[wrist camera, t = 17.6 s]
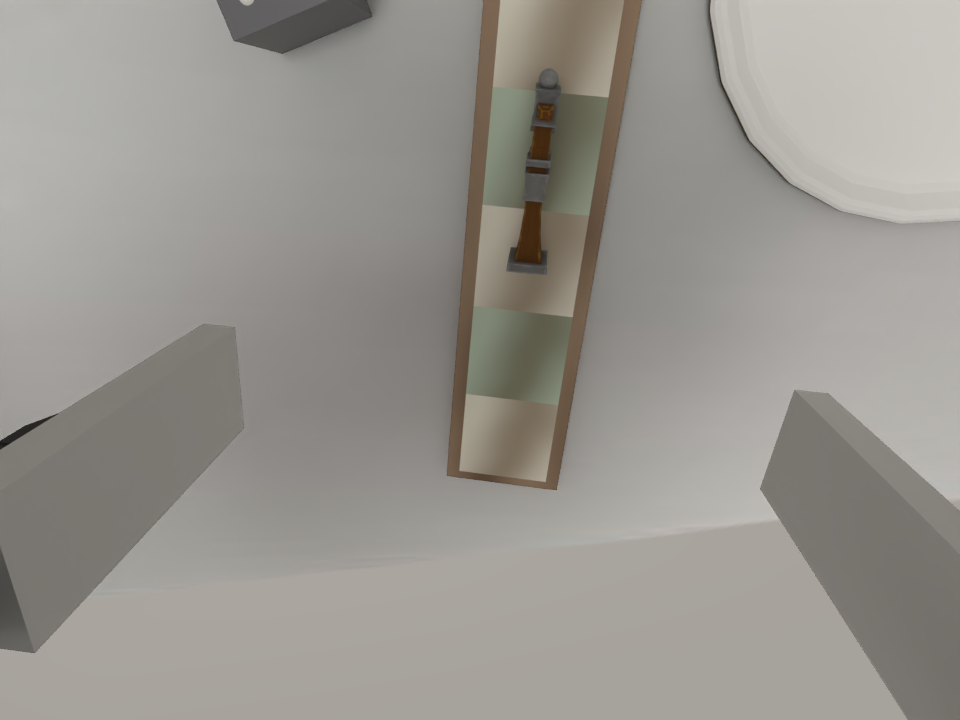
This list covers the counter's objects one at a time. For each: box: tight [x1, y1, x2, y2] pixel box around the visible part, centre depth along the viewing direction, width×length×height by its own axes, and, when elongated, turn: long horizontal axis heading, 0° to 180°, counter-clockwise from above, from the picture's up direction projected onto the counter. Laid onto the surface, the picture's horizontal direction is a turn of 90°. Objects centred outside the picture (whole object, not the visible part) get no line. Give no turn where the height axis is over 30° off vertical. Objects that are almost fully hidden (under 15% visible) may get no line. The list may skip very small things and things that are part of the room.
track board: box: [447, 0, 642, 490], centre depth 27 cm, size 6×26×1 cm, turn 175°
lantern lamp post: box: [506, 68, 561, 276], centre depth 24 cm, size 4×2×8 cm
